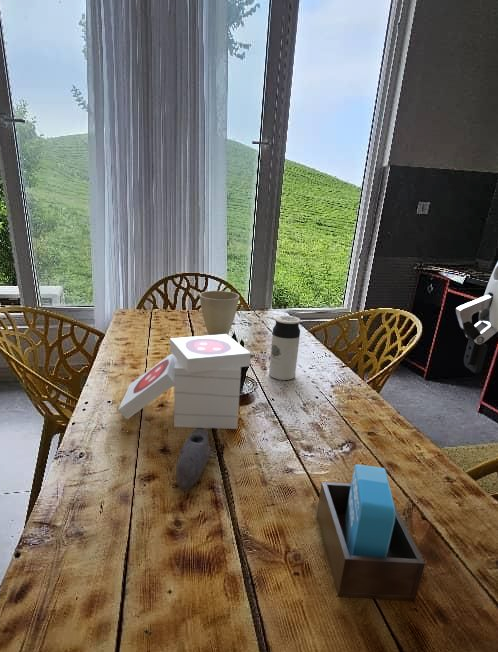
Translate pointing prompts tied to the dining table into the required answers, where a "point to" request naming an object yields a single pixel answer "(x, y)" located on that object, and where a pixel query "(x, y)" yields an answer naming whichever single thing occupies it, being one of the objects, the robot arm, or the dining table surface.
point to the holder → (365, 571)
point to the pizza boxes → (194, 382)
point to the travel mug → (284, 347)
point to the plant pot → (218, 310)
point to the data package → (369, 512)
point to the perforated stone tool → (192, 459)
